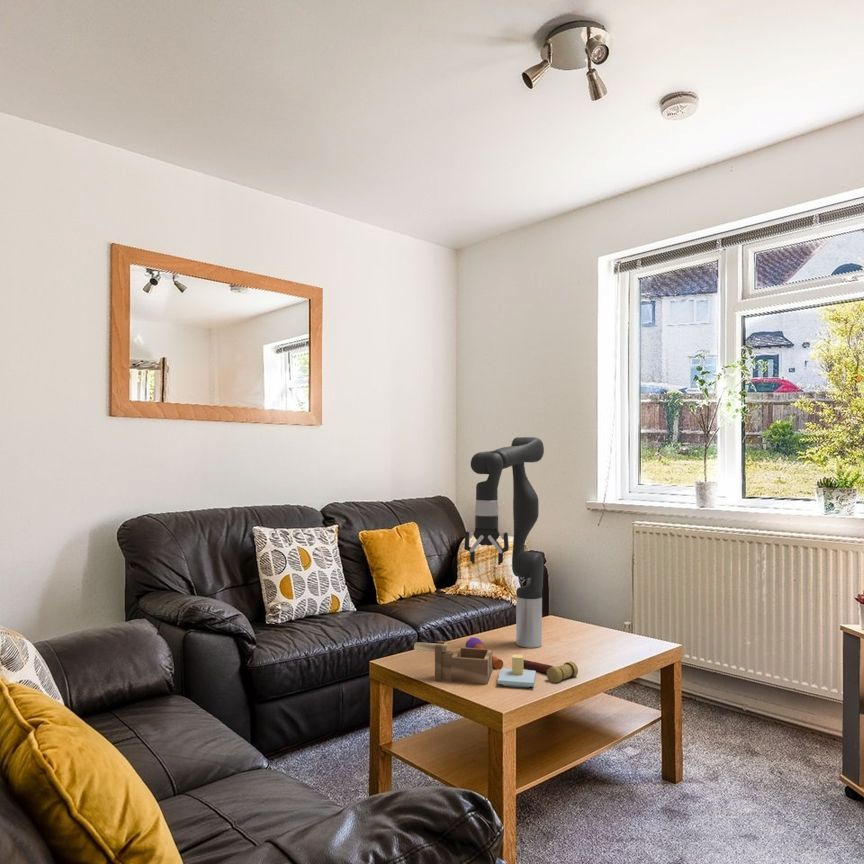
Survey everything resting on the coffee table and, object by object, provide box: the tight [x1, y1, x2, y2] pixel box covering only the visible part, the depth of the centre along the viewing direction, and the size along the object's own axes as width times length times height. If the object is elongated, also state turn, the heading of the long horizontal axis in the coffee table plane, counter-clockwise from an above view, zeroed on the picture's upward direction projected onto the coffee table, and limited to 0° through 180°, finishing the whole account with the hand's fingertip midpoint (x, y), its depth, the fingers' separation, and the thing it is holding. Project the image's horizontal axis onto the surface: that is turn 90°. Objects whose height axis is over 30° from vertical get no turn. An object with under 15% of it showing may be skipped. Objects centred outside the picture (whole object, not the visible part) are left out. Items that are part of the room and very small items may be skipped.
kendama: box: [465, 637, 504, 670], centre depth 224 cm, size 6×6×20 cm
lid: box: [497, 653, 537, 689], centre depth 203 cm, size 12×11×7 cm
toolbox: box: [434, 640, 493, 685], centre depth 208 cm, size 12×16×11 cm
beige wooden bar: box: [413, 641, 449, 653], centre depth 206 cm, size 2×10×2 cm, turn 78°
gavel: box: [523, 659, 579, 684], centre depth 213 cm, size 21×5×10 cm
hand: (486, 564), depth 218 cm, fingers open, 8 cm apart
